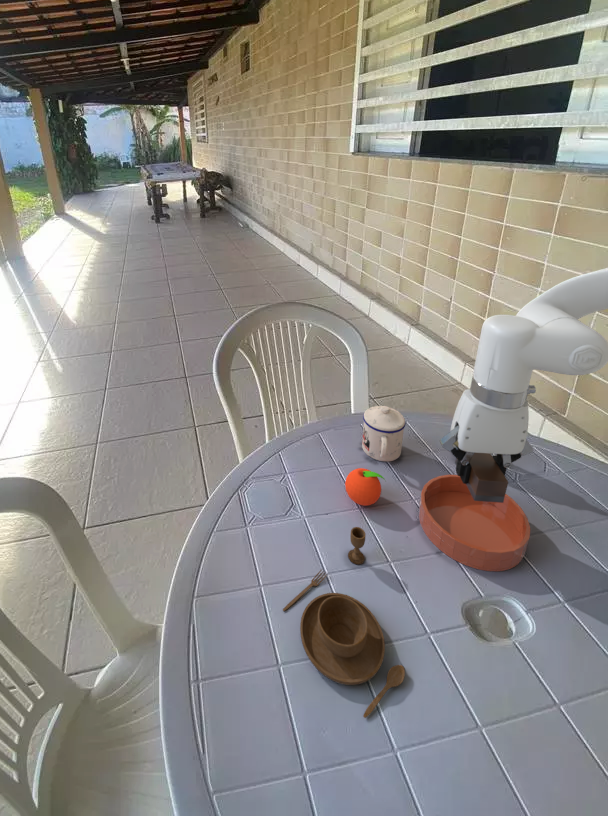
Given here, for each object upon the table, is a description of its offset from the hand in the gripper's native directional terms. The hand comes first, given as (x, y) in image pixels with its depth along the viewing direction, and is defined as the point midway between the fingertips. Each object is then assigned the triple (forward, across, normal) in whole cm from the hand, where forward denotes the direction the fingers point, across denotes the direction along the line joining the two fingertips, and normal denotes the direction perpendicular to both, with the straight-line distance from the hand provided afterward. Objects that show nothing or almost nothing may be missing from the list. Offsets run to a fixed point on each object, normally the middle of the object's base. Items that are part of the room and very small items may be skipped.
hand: (478, 478), depth 74 cm
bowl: (+12, 0, 0) cm, 12 cm away
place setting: (+12, +23, +19) cm, 32 cm away
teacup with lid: (+12, +12, -19) cm, 25 cm away
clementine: (+12, +18, -5) cm, 22 cm away
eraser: (+1, 0, 0) cm, 1 cm away
